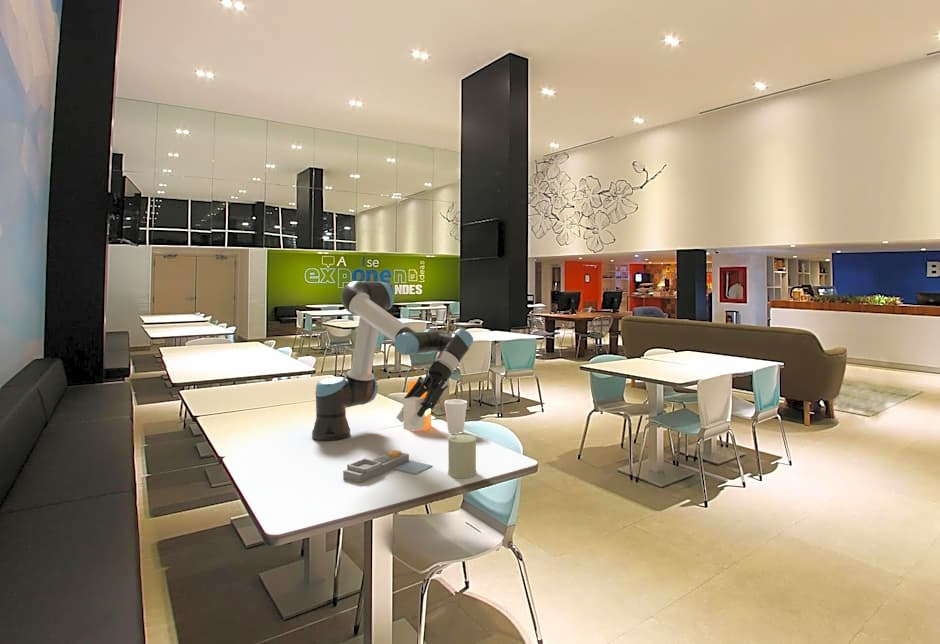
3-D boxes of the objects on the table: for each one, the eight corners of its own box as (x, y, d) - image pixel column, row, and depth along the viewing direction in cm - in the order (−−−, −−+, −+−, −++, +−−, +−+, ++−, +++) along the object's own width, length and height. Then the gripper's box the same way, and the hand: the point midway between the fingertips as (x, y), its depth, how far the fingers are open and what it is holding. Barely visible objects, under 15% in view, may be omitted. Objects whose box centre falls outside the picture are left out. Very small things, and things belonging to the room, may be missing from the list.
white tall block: (403, 429, 167) (403, 399, 167) (413, 425, 172) (412, 396, 171) (415, 431, 165) (415, 400, 164) (424, 427, 169) (424, 398, 168)
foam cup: (464, 435, 208) (464, 404, 207) (442, 434, 210) (442, 403, 209) (468, 429, 217) (468, 399, 217) (447, 428, 219) (447, 398, 218)
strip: (342, 478, 160) (342, 466, 159) (392, 457, 180) (392, 447, 180) (360, 483, 155) (360, 471, 155) (409, 461, 176) (409, 451, 176)
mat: (394, 469, 168) (394, 468, 168) (411, 461, 175) (411, 460, 175) (415, 474, 163) (415, 473, 163) (432, 466, 171) (432, 465, 171)
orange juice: (426, 430, 217) (426, 383, 216) (406, 429, 218) (406, 383, 217) (431, 425, 224) (431, 380, 223) (412, 424, 226) (411, 380, 225)
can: (447, 468, 169) (447, 433, 168) (474, 468, 169) (475, 432, 169) (448, 478, 159) (448, 441, 159) (477, 478, 160) (477, 440, 159)
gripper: (467, 377, 171) (429, 433, 161) (432, 371, 185) (395, 423, 175) (455, 362, 167) (416, 420, 157) (420, 357, 181) (382, 410, 171)
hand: (405, 421), depth 166 cm, fingers closed on white tall block, 6 cm apart
